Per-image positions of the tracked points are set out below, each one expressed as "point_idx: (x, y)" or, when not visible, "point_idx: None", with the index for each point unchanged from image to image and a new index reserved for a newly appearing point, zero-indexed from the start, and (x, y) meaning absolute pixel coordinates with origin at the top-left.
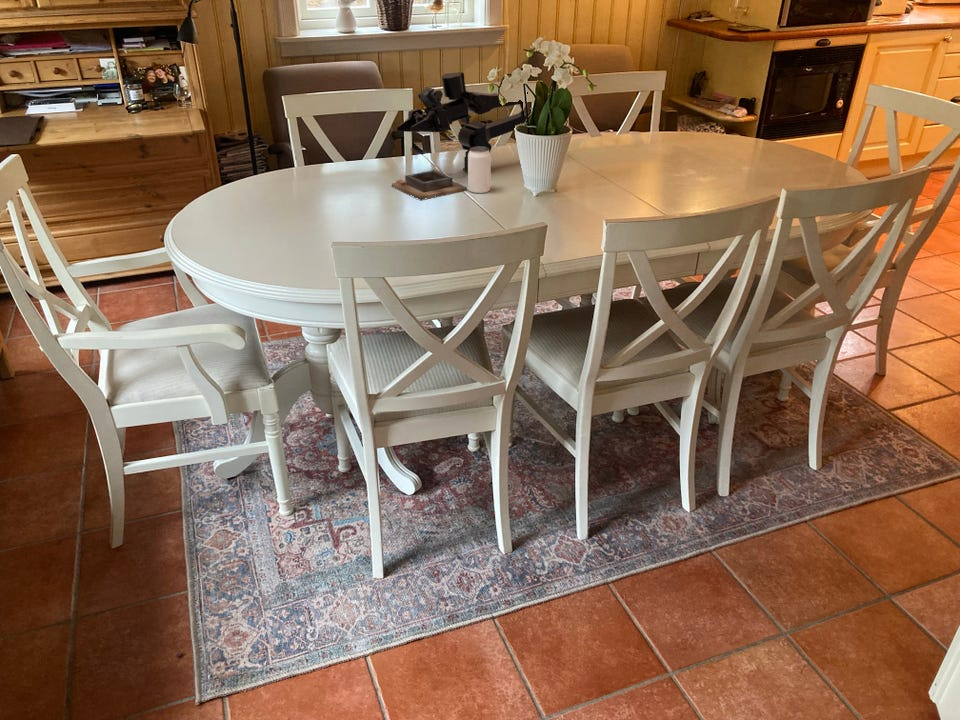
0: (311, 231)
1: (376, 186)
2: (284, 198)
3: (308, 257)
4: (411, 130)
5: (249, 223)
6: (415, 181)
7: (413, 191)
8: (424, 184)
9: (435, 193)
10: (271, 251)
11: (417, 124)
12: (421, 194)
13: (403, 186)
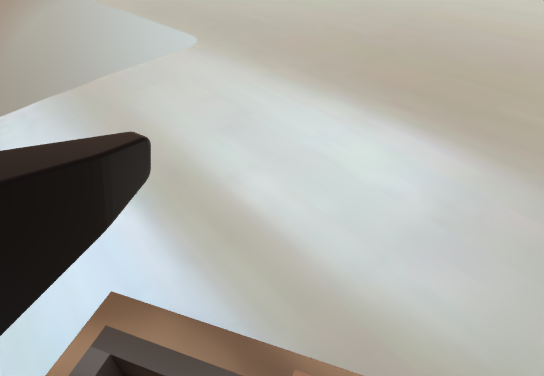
0: (262, 49)
1: (444, 345)
2: (539, 101)
3: (183, 16)
4: (144, 165)
5: (405, 22)
6: (179, 355)
7: (178, 335)
8: (102, 335)
9: (52, 373)
10: (254, 5)
11: (39, 150)
12: (118, 320)
13: (275, 371)
